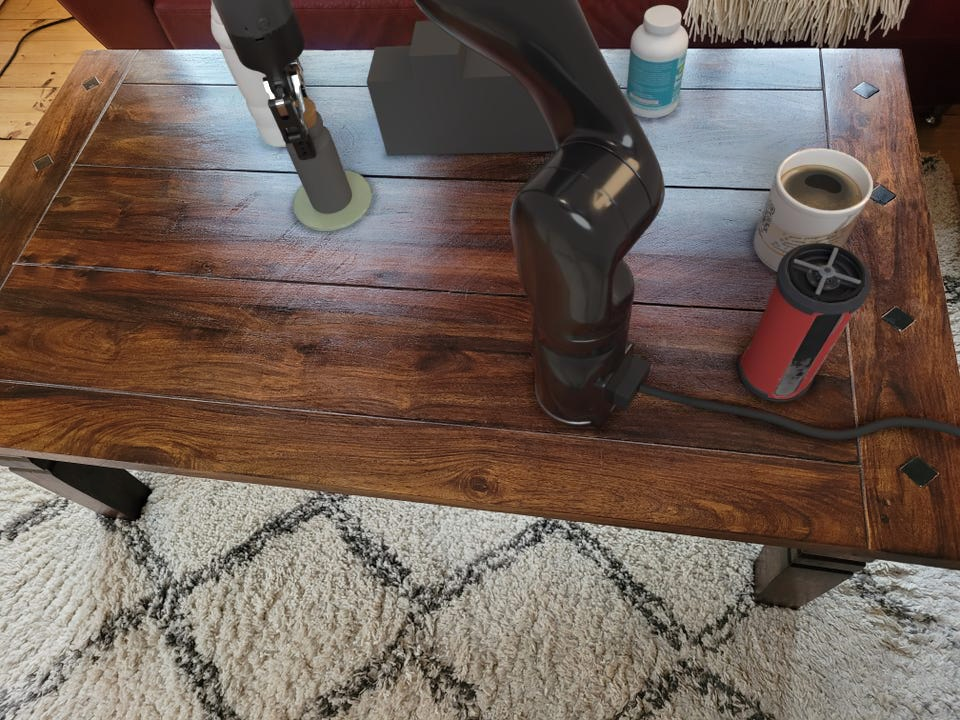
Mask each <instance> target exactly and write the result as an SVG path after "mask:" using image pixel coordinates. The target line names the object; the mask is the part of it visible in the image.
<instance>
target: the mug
mask: <svg viewBox="0 0 960 720" xmlns="http://www.w3.org/2000/svg"><path fill="white" fill-rule="evenodd" d="M873 191H874V181H873V177H872V175H871V172H870V171H869V169H868V168H867V167H866V165H864V164H863V163H862V162H861V161H860V160H858V159H857V158H855V157H854V156H852V155H849V153H845V152H843V151H841V150H836V149H833V148H832V149H831V148H825V147H824V148H823V147H802V148H801V149H800V150H798V151H795V152H793V153H791V154H790V155H788V156H787V157H786V158H784V160H783V161H781V163H780V164H779V166H778V168H777V170H776V173H775V175H774V179H773V182H772V184H771V187H770V190H769V193H768V194H767V198H766V201H765V203H764V207H763V210H762V212H761V214H760V218H759V221H758V223H757V226H756V228H755V232H754V235H753V239H752V240H753V248H754V251H755V254H756V256H757V258H759V260H760V261H761V263H763V264H764V265H765V266H766V267H768V268H769V269H771V270H772V271H774V272H776V273H777V270H778V266H779V263H780V261H781V259H782V258H783V257H784V255H785V254H786V253H787V252H789V251H790V250H792V249H793V248H795V247H798V246H800V245H804V244H810V243H825V244H831V245H836V246H839V247H842V248H844V247H845V245H846V243H847V241H848V240H849V238H850V236H851V234H852V232H853V230H854V228H855V226H856V225H857V223H858V221H859V219H860V217H861V215H862V213H863V211H864V209H865V208H866V206H867V204H868V202H869V201H870V199H871V197H872V194H873Z"/></svg>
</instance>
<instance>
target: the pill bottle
mask: <svg viewBox="0 0 960 720" xmlns="http://www.w3.org/2000/svg"><path fill="white" fill-rule="evenodd" d="M688 47H689V34H688V32H687V29H686V28H685V27H684V26H683V25H682V12H681V10H679V8H677V7H675V6H672V5H668V4H667V5H666V4H659V5H654V6H652V7H650V8H648V9H647V10H646V11H645V13H644V15H643V23H642V24H640V25H639V26H638V27H637V28H636V29H635V30H634V31H633V34H632V36H631V38H630V49H629V59H628V70H627V81H626V92H625V98H626V100H627V102H628V103H629V105H630V107H631V109H632V111H633V112H634V114H635V116H639V117H641V118H646V119H657V118H658V119H659V118H663V117H665V116H667V115H669V114H671V113H672V112H674V110H675V109H676V108H677V106H678V103H679V99H680V93H681V89H682V82H683V76H684V70H685V65H686V58H687V52H688Z"/></svg>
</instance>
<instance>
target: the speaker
mask: <svg viewBox="0 0 960 720" xmlns="http://www.w3.org/2000/svg"><path fill="white" fill-rule="evenodd" d="M871 290H872V277H871V274H870V272H869V269H868V268H867V266H866V265H865V264H864V262H863V261H862V260H861V259H860V258H859V257H858V256H857V255H856V254H854V253H852V252H851V251H850V250H848V249H846V248H844V247H843V248H842V247H839V246H836V245H831V244H825V243H810V244H804V245H800V246H798V247H795V248H793V249H792V250H790V251H789V252H787V253H786V254H785V255H784V257H783V258H782V259H781V261H780V263H779V266H778V270H777V272H776V280H775V283H774V286H773V288H772V291H771V293H770V295H769V298H768V301H767V304H766V305H765V309H764V311H763V313H762V316H761V318H760V320H759V323H758V325H757V327H756V329H755V331H754V333H753V335H752V338H751V340H750V342H749V343H748V345H746V347H745V348H744V349H743V350H742V351H741V354H740V356H739V358H738V361H737V372H738V376H739V378H740V380H741V382H742V384H743V385H744V386H745V387H746V388H747V390H749V392H751V393H752V394H753V395H755V396H757V397H759V398H762V399H764V400H765V401H766V400H767V401H771V402H776V403H778V402H779V403H781V402H782V403H783V402H784V403H785V402H791V401H794V400H797V399H799V398H800V397H802V396H803V395H805V394H806V393H807V391H809V389H810V388H811V386H812V384H813V383H814V380H815V376H816V374H817V373H818V371H819V370H820V369H821V366H822V365H823V363H824V362H825V361H826V360H827V359H826V358H827V357H828V355H829V354H830V353H831V351H832V349H833V348H834V346H835V344H836V343H837V342H838V340H839V338H840V337H841V336H842V333H843V332H844V330H845V328H847V325H848V324H849V323H850V321H851V320H852V318H853V316H854V315H855V313H856V312H857V311H858V310H859V309H860V308H861V307H862V306H863V304H864V303H865V301H867V298H868V297H869V295H870V293H871Z"/></svg>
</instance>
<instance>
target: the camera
mask: <svg viewBox="0 0 960 720" xmlns="http://www.w3.org/2000/svg"><path fill="white" fill-rule="evenodd" d="M371 58H372V59H371V62H370V66H369V70H368V74H367V77H366V81H365V82H366V85H367V89H368V92H369V93H368V94H369V96H370V99H371V103H372V107H373V111H374V113H375V118H376V121H377V124H378V128H379V131H380V135H381V139H382V142H383V146H384V149H385V152H386V156H388V157H389V156H421V155H424V156H425V155H462V154H496V153H498V154H499V153H501V154H502V153H503V154H505V153H506V154H507V153H540V152H541V153H542V152H556V146H555V143H554V140H553V137H552V135H551V132H550V130H549V128H548V126H547V124H546V122H545V120H544V118H543V116H542V115H541V113H540V111H539V109H538V107H537V106H536V104H535V103H534V101H533V99H532V98H531V96H530V95H529V94H528V92H527V91H526V90H525V88H524V87H523V86H522V85H521V84H520V83H519V82H518V81H517V80H516V79H515V78H514V77H513V76H512V75H510V74H509V73H508V72H506V71H505V70H504V69H502V68H501V67H499V66H498V65H496V64H495V63H493V62H491V61H490V60H488V59H486V58H485V57H483V56H481V55H480V54H478V53H476V52H475V51H473V50H472V49H470V48H468V47H467V46H465V45H464V44H462V43H460V42H459V41H457V40H456V39H454V38H453V37H452V36H450V35H449V34H447V33H446V32H444V31H443V30H442V29H440V28H439V27H438V26H437V25H435V24H434V23H433V22H432V21H431V20H419V21H415V24H414V29H413V33H412V38H411V43H410V45H395V46H375V47H374V49H373V54H372V57H371Z"/></svg>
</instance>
